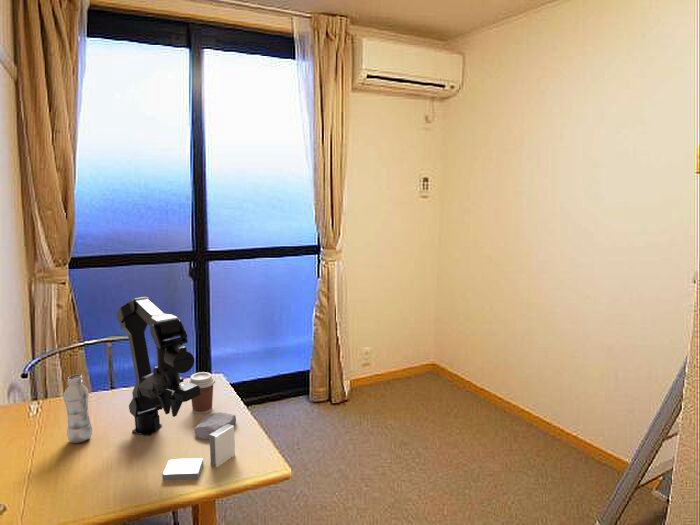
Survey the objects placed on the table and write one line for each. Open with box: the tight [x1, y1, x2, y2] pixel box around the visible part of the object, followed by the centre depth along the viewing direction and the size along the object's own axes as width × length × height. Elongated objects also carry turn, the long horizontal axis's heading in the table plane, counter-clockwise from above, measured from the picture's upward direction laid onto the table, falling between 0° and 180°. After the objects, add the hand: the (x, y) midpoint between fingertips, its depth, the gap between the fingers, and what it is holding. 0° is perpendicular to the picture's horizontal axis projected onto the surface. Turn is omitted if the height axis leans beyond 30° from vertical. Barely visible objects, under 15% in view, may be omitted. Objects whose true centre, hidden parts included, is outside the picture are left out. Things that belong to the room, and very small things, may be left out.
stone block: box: [194, 411, 237, 440], centre depth 157 cm, size 12×5×10 cm
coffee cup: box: [186, 371, 216, 415], centre depth 170 cm, size 9×9×12 cm
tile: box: [209, 424, 236, 468], centre depth 140 cm, size 2×7×9 cm, turn 150°
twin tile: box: [161, 457, 204, 482], centre depth 134 cm, size 9×7×2 cm
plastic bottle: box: [62, 374, 93, 444], centre depth 148 cm, size 6×7×20 cm
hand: (171, 415), depth 141 cm, fingers open, 3 cm apart
